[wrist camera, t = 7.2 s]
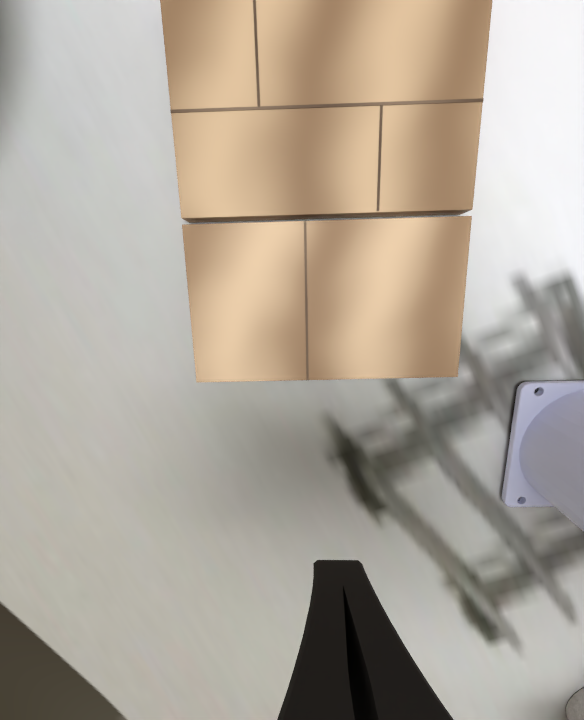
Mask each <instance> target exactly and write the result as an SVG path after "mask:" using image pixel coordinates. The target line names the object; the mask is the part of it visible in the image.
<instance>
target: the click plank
mask: <svg viewBox="0 0 584 720" xmlns="http://www.w3.org/2000/svg"><path fill="white" fill-rule="evenodd" d="M471 219H472V216H458V217H424V218H391V219H357V220H323V221H290V222H256V223H223V224H189V225H182V229H183V240H184V251H185V262H186V272H187V283H188V294H189V305H190V315H191V326H192V337H193V348H194V359H195V369H196V380H197V382H234V381H282V380H329V379H377V378H424V377H458V366H459V355H460V343H461V332H462V321H463V309H464V298H465V287H466V275H467V264H468V253H469V241H470V230H471Z"/></svg>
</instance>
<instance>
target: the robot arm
mask: <svg viewBox="0 0 584 720" xmlns="http://www.w3.org/2000/svg"><path fill="white" fill-rule="evenodd" d="M536 388H539V390H538V392H537V393H535V394H534V391H535V389H536ZM520 497H521V498H520ZM518 498H520V499H519V500H518ZM502 501H503V502H504V503H505V504H506V505H507V506H509V507H556V508H557V509H558V510H559V511H560V512H562V513H563V514H564V515H565V516H566V517H567V518H568V519H570V520H571V521H572V522H573V523H574V524H575V525H577V526H578V527H579V528H580V529H581V530H582V531H584V380H579V381H531V382H523V383H521V384H520V385H519V386H518V388H517V393H516V400H515V407H514V414H513V421H512V428H511V435H510V442H509V449H508V456H507V463H506V470H505V477H504V484H503V491H502ZM277 720H453V718H452V717H451V716H450V714H449V713H448V711H447V710H446V709H445V707H444V706H443V704H442V703H441V701H440V700H439V698H438V697H437V695H436V694H435V693H434V691H433V690H432V688H431V687H430V685H429V683H428V682H427V680H426V679H425V677H424V676H423V674H422V673H421V671H420V670H419V668H418V666H417V665H416V663H415V662H414V660H413V659H412V657H411V655H410V654H409V652H408V650H407V649H406V647H405V646H404V644H403V642H402V640H401V639H400V637H399V635H398V634H397V632H396V630H395V628H394V627H393V625H392V623H391V621H390V620H389V618H388V616H387V614H386V612H385V611H384V609H383V607H382V605H381V603H380V601H379V599H378V597H377V595H376V594H375V592H374V590H373V587H372V585H371V583H370V581H369V579H368V577H367V575H366V573H365V570H364V568H363V565H362V563H361V562H359V561H358V560H317V561H316V562H315V563H314V578H313V588H312V595H311V601H310V607H309V611H308V616H307V621H306V625H305V630H304V634H303V638H302V642H301V645H300V649H299V653H298V656H297V660H296V663H295V667H294V670H293V674H292V677H291V680H290V683H289V687H288V690H287V693H286V696H285V699H284V702H283V705H282V708H281V711H280V713H279V716H278V719H277Z"/></svg>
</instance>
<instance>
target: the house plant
mask: <svg viewBox="0 0 584 720" xmlns="http://www.w3.org/2000/svg"><path fill="white" fill-rule="evenodd" d="M566 716H567V719H568V720H584V688H582V689H581V690H579V691H578V692H577V693H575V694H574V695H573V696H572V697H571V699H570V700H569V702H568V704H567V706H566Z"/></svg>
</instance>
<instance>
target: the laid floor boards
mask: <svg viewBox="0 0 584 720" xmlns="http://www.w3.org/2000/svg"><path fill="white" fill-rule="evenodd" d="M160 3H161V13H162V24H163V34H164V44H165V54H166V65H167V75H168V85H169V95H170V106H171V116H172V126H173V136H174V147H175V157H176V167H177V177H178V188H179V198H180V208H181V218H182V219H184V220H186V221H187V222H189V223H192V222H226V221H259V220H293V219H326V218H360V217H393V216H427V215H460V214H462V213H465V212H467V211H470V210H472V207H473V197H474V186H475V176H476V166H477V155H478V145H479V134H480V124H481V113H482V103H483V92H484V82H485V72H486V61H487V51H488V40H489V30H490V19H491V9H492V0H160Z"/></svg>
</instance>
